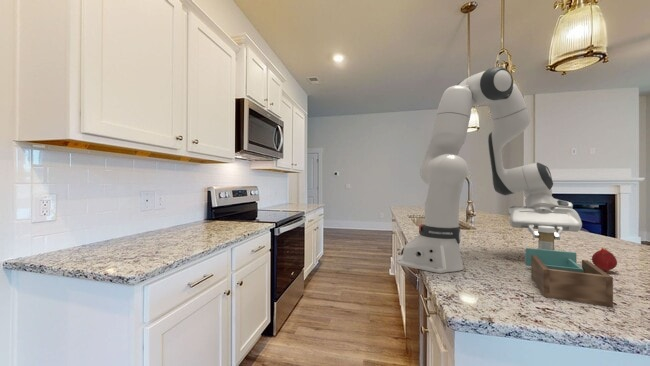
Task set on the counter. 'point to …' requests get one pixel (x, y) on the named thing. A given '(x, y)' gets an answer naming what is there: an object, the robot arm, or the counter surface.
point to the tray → (554, 259)
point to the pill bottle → (546, 237)
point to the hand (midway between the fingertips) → (546, 237)
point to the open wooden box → (574, 283)
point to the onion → (604, 260)
